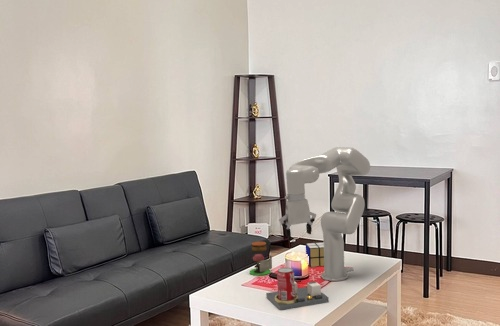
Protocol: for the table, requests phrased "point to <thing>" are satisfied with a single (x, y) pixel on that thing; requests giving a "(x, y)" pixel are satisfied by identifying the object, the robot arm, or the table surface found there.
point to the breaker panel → (302, 300)
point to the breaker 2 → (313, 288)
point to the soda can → (286, 284)
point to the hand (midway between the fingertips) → (298, 235)
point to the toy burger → (260, 260)
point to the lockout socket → (286, 301)
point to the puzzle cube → (315, 254)
